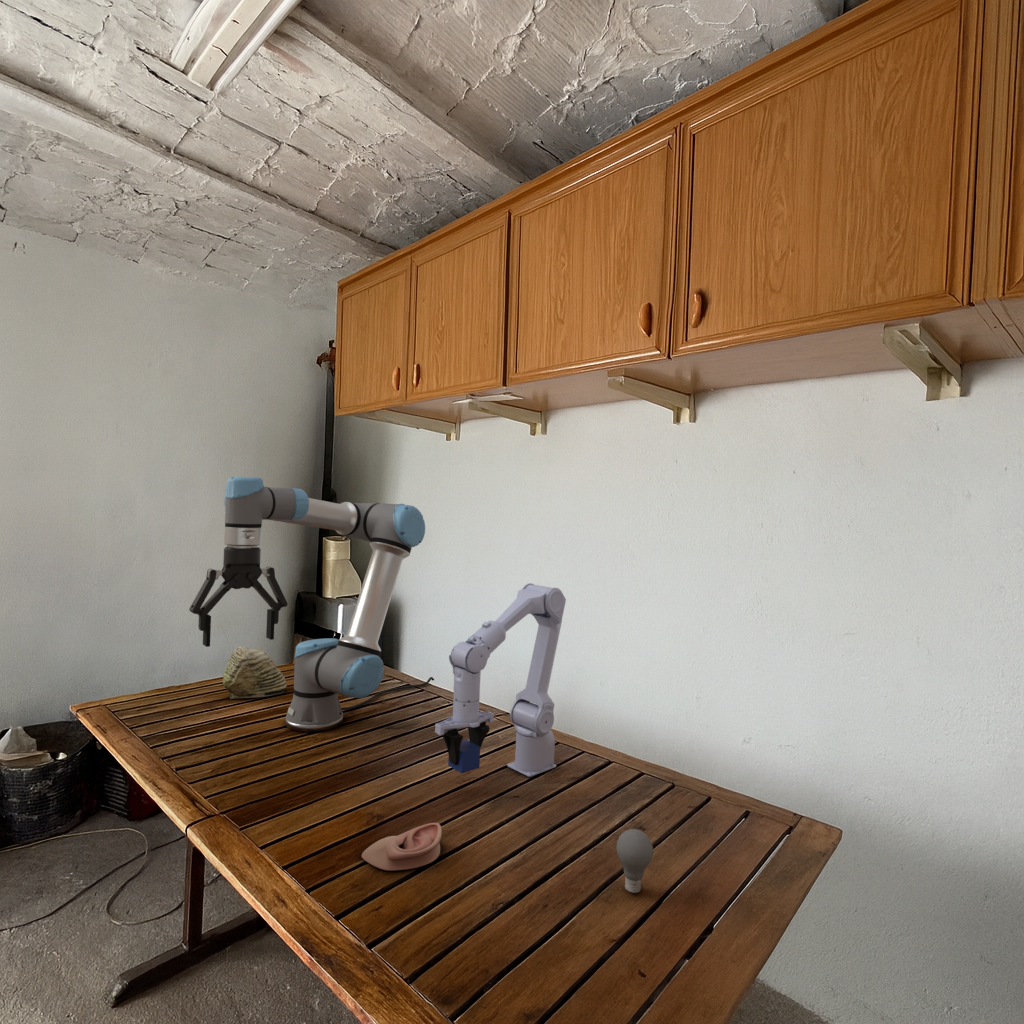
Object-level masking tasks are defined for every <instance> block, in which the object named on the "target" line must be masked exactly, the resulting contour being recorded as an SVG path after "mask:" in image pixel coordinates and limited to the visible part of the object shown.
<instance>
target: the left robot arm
mask: <svg viewBox="0 0 1024 1024" xmlns="http://www.w3.org/2000/svg"><path fill="white" fill-rule="evenodd" d="M223 499H224V502H223V504H224V507H225V509H224V513H225V514H224V537H223V539H224V540H223V544H224V545H225V547H224V548H223V560H222V561H223V563H222V565H223V566H222V569H213V568H208V569H207V570H206V575H205V577H206V578H205V580H204V582H203V583H202V585H201V587H200V588H199V591H198V592H197V593H196V596H195V598H194V599H193V601H192V603H191V605H190V607H189V609H188V611H189V612H190V613H192V614H194V615H197V616H198V625H197V626H198V630H199V631H201V632H202V645H203V646H204V647H206V648H207V647H208V648H209V647H211V633H212V631H211V628H212V615H210V614H209V613H210V612H211V611H212V610H213V608H215V606H216V605H217V604H218V603H219V602H220V601H221V600H222V599H223V597H224V596H225V595H226V594H227V593H228V592H229V591H230V590H231V589H233V590H241V589H250V588H253V589H254V590H255V591H256V592H257V593H258V595H259V596H260V597H261V598H262V599H263V600H264V601H265V603H266V604H267V605H268V606H269V607H270V608H268V609H266V635H265V637H266V638H267V639H268V640H270V641H271V640H272V641H273V640H275V625H277V624H278V623H279V620H280V619H279V616H280V615H279V614H280V611H281V609H282V608H286V607H288V602H287V598H286V597H285V594H284V593H283V591H282V589H281V586H280V585H279V582H278V579H277V578H276V572H275V571H276V570H275V568H274V567H271V566H266V567H264V568H262V567H261V555H262V548H260V547H259V546H261V545H262V528H263V527H262V525H263V521H264V520H267V521H274V522H279V523H286V524H293V525H299V526H306V527H313V528H319V529H325V530H332V531H335V532H336V533H337V534H338V535H340V536H347V537H351V538H355V539H359V540H362V541H366V542H369V546H370V547H371V550H372V552H371V556H370V558H369V562H368V566H367V569H366V572H365V574H364V578H363V581H362V584H361V587H360V591H359V595H358V597H357V601H356V604H355V607H354V611H353V613H352V616H351V619H350V622H349V626H348V630H347V633H346V635H344V636H342V637H341V638H339V639H338V638H335V637H334V638H331V637H329V638H315V639H308V640H304V641H301V642H299V643H298V644H297V645H296V646H295V652H294V656H293V659H294V661H293V662H294V670H293V671H294V672H293V695H292V696H293V697H292V699H291V702H290V704H289V706H288V709H287V713H286V715H285V726H286V728H287V729H289V730H291V731H294V732H295V731H296V732H301V733H316V732H325V731H329V730H332V729H335V728H337V727H339V726H340V725H342V723H343V722H344V713H343V711H349V710H350V711H351V710H353V709H356V708H360V707H362V706H364V705H366V704H368V703H369V702H371V701H374V699H376V698H377V697H379V696H381V695H383V694H386V693H390V692H396V691H400V690H406V689H413V688H414V689H415V688H420V687H425V686H427V685H428V684H430V682H431V681H435V678H434V677H433V676H430V677H429V678H428V679H427V680H426V681H425V682H423V683H419V684H413V685H412V684H411V685H405V686H398V687H392V688H388V689H385V690H382V691H379V692H377V693H376V694H374V695H373V696H371V697H370V698H368V699H366V700H363V701H362V702H359V703H357V704H354V705H351V706H344V707H343V706H341V702H340V699H339V695H342V696H344V697H347V698H354V699H365V698H367V697H369V696H370V695H371V694H373V693H374V692H375V691H377V689H378V688H379V686H380V685H381V683H382V681H383V678H384V674H385V667H384V666H385V665H384V662H383V660H382V658H381V657H380V656H381V653H382V649H381V647H380V645H379V640H380V636H381V633H382V630H383V626H384V624H385V620H386V616H387V612H388V611H389V610H388V609H389V606H390V603H391V600H392V596H393V593H394V590H395V586H396V583H397V580H398V576H399V573H400V570H401V566H402V563H403V560H404V559H406V558H408V557H410V556H411V552H412V549H413V548H415V547H417V546H419V545H420V544H421V543H422V542H423V541H424V538H425V534H426V522H425V519H424V516H423V514H422V512H421V511H420V510H419V509H418V508H417V507H416V506H414V505H409V504H405V503H385V502H383V503H382V502H359V503H358V502H349V501H344V502H343V501H342V502H340V503H338V502H337V503H336V502H332V501H327V500H322V499H316V498H313V497H309V496H308V494H307V493H306V491H305V490H303V489H301V488H294V487H276V486H265V485H264V479H262V477H252V476H229V478H228V479H227V481H226V485H225V495H224V498H223ZM220 576H221V578H222V579H223V581H222V582H221V584H220V585H219V587H218V588H217V589H216V590H215V591H214V593H213V594H212V595H210V597H209V598H208V599H207V597H208V595H209V593H210V591H211V590H212V588H213V587H214V585H215V582H216V580H219V577H220ZM261 576H263V577H265V578H266V581H267V583H268V585H269V587H270V589H271V590H272V593H273V595H274V597H275V598H273V597H272V595H271V594H270V593H269V592H268V591H267V590H266V588H264V587H263V585H262V584H261V583H260V581H259V580H258V579H260V577H261ZM275 599H276V601H275ZM338 694H339V695H338Z"/></svg>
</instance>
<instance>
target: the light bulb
mask: <svg viewBox="0 0 1024 1024" xmlns="http://www.w3.org/2000/svg"><path fill="white" fill-rule="evenodd" d="M615 849H616V854H617V857H618V859H619V861H620V863H621V865H622V867H623V873H624V874H623V875H624V876H625V878H624V888H625V890H627V891H628V892H630V893H634V894H635V893H639V892H640V891H641V889H642V887H641V886H642V879H643V877H644V875H645V871H646V868H647V867H648V866H649V864H650V863H651V861H652V859H653V855H654V847H653V843H652V841H651V838H649V836H648V835H647V834H646V833H645V832H643V831H642V830H641V829H636V828H629V829H627V830H625V831H623V832H622V833H621V834H620V835H619V837H618V839H617V841H616V847H615Z"/></svg>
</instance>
